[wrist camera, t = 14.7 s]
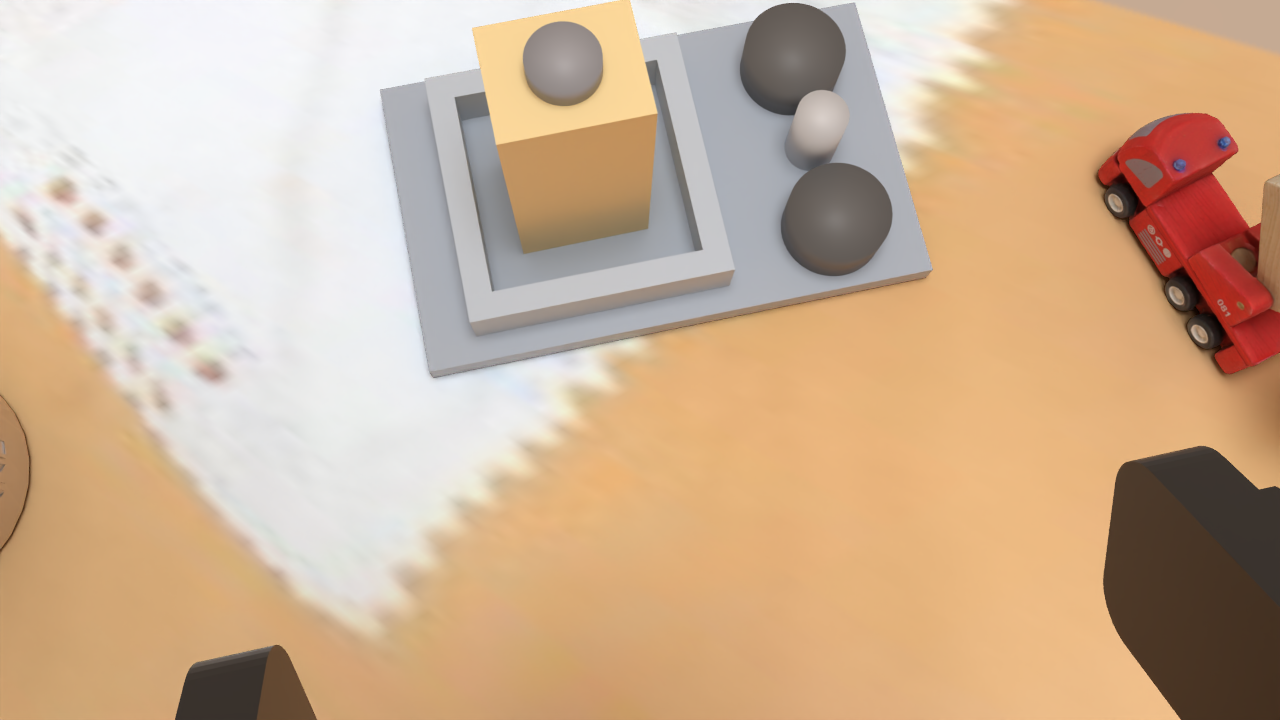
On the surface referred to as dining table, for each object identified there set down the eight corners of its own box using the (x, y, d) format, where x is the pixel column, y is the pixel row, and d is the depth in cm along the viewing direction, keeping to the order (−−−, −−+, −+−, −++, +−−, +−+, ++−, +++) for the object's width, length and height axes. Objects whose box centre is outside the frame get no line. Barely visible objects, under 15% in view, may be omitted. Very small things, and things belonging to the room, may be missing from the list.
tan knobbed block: (523, 254, 42) (493, 133, 32) (504, 161, 43) (468, 13, 33) (648, 228, 43) (658, 101, 32) (626, 137, 44) (629, -16, 33)
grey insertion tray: (433, 377, 42) (415, 352, 38) (385, 100, 45) (363, 52, 41) (925, 277, 44) (956, 243, 40) (849, 15, 46) (871, -41, 42)
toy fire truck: (1148, 137, 45) (1289, 10, 36) (1337, 426, 43) (1542, 372, 33) (1081, 169, 45) (1205, 50, 35) (1267, 463, 42) (1454, 419, 33)
